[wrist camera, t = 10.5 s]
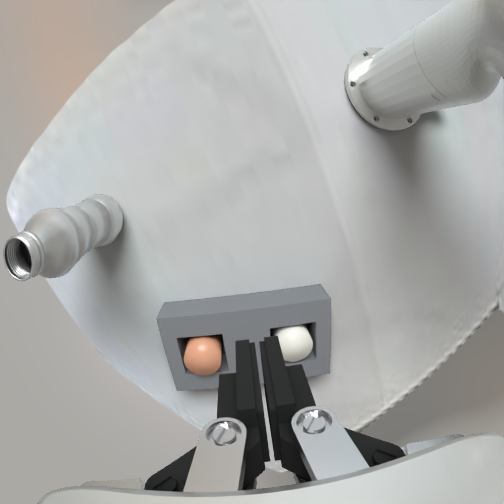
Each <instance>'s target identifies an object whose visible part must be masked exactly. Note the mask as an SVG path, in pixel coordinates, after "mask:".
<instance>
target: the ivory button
mask: <svg viewBox="0 0 504 504" xmlns="http://www.w3.org/2000/svg"><path fill="white" fill-rule="evenodd" d="M272 333H273V336H278V339H279V343H280V346H281V350H282V354H283V358H284V360H285V361H289V362H295V361H299V360H302V359H304V358H305V357H307V356H308V355H309V353H310V352H311V350H312V347H313V341H312V339H311V336H310V334H309V332H308V330H307V327H306V325H305V324H298V325H291V326H284V327H277V328H272Z"/></svg>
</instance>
